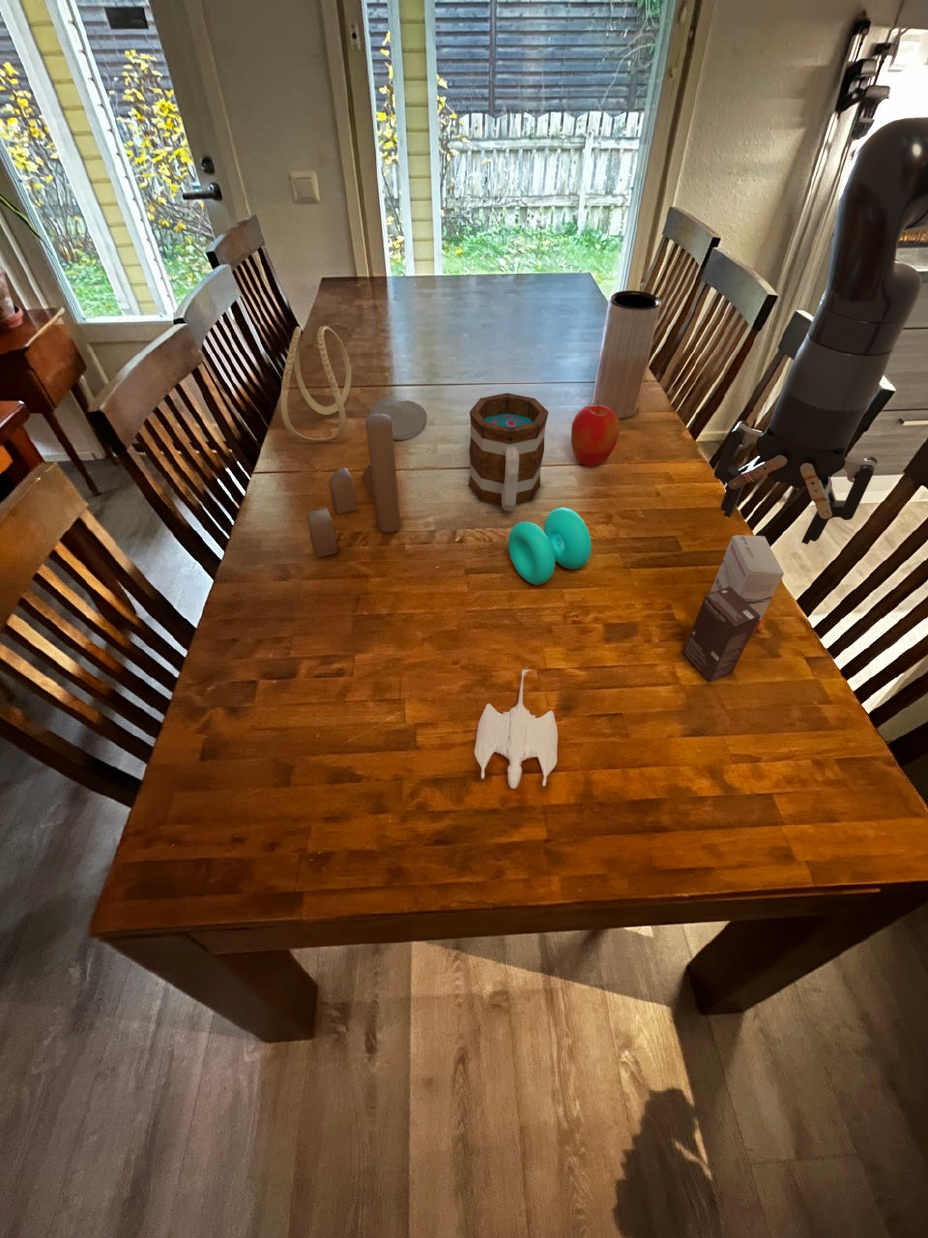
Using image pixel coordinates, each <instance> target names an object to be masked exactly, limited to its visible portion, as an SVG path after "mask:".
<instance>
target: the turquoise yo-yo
mask: <svg viewBox="0 0 928 1238" xmlns="http://www.w3.org/2000/svg"><path fill="white" fill-rule="evenodd" d="M507 546H508V552H509V556H510V559H511V562H512V565H513V567H514V568H515V570H516V571H517V573H518V574H519V575H520V576H521V578H522V579H523V580H525V581H526V582H527V583H529V584H533V585H542V584H545V583H546V582H548V581H549V580H550V579H551V577H552V576H553V574H554V571H555V567H556V563H557V564H558V565H560V566H561V567H563V568H566V569H569V570H578V569H580V568H582V567H583V566H585V565H586V564H587V563H588V561H589V559H590V556H591V554H592V538H591V534H590V531H589V529H588V527H587V525H586V523H585V521H584V520H583V518H582V517H581V516H580V515H579V514H578V513H577V512H575V511H574V510H572V508H568V507H557V508H554V509H553V510H552V511H550V512H549V514H548V515H547V516H546V519H545V521H544V525H543V529H542V528H541V527H540V526H539V525H537V524H536V523H534V522H531V521H520V522H518V523H516V524H514V526H512V528H511V530H510V531H509V534H508V540H507Z"/></svg>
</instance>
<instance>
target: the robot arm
mask: <svg viewBox="0 0 928 1238" xmlns="http://www.w3.org/2000/svg"><path fill="white" fill-rule="evenodd" d="M836 205H837V206H836V214H835V220H834V221H835V222H834V229H833V238H832V246H831V251H830V257H829V267H828V276H827V279H826V280H827V281H826V286H825V289H824V291H823V293H822V296H821V298H820V301H819V303H818V304H817V308H816V311H815V313H814V316H813V317H812V320H811V323H810V326H809V329H808V331H807V333H806V335H805V337H804V340H803V341H802V343H801V344H800V346H799V348H798V350H797V352H796V354H795V356H794V359H793V361H792V364H791V366H790V369H789V372H788V374H787V377H786V379H785V381H784V384H783V387H782V389H781V392H780V395H779V397H778V400H777V402H776V406H775V407H774V410H773V412H772V415H771V417H770V420H769V422H768V426H766V427H767V428H765V429H764V430H763V431H760V430H757V429H754V428H751V427H750V425H749V423H748V421H746V420H740V421H739V422H737V424H736V425H735V427H734V428H733V429H732V431H731V432H730V434H729V437H728V439H727V441H726V443H725V446H724V448H723V451H722V453H721V456H720V458H719V460H718V463H717V464H716V468H715V470H714V472H713V476H714V478H715V479H717V480H723V482H725V483H726V485H727V488H726V491H725V493H724V496H723V500H722V501H721V504H720V510H721V511H724V513H723V517H726V518H730V519H731V516H732V515H733V514H734V511H735V510H736V508H737V505H738V502H739V500H740V497H741V494H742V492H743V490H744V487H745V485H748V484H749V483H754V482H756V481H757V480H759V479H761V478H763V477H765V476H767V477H769V480H770V481H773V482H775V483H783V484H787V485H788V486H790V487H792V488H794V489H798V490H801V489H802V488H806V489H807V491H808V493H809V496H810V499H811V501H812V502H813V503H814V505H815V507H816V511H815V513H814V515H813V517H812V519H811V521H810V523H809V526H808V527H807V529H806V531H805V533H804V535H803V537H802V540H801V544H804V545H809V543H810V542H811V541H812V542H814V543H815V542H817V541H818V540H819V539H820V537H821V535H822V534H823V531H824V530H825V528H826V526H827V524H828V522H829V521H830V520H831V519H833V518H840V519H842V520H843V521H850V520H852V519H853V518H854V516H855V514H856V512H857V509H858V508H859V505H860V503H861V501H862V499H863V496H864V495H865V493H866V490H867V488H868V486H869V484H870V482H871V481H872V478H873V476H874V473H875V470H876V467H877V466H878V465H877V464H878V459H877V458H875V457H874V456H868V457H866V458H864V459H861V458H856V457H852V456H848V447H849V445H850V443H851V441H852V439H853V438H854V435H855V433H856V431H857V430H858V427H859V425H860V423H861V421H862V419H863V417H864V415H865V413H866V411H867V409H868V406H869V405H870V403H871V401H872V400H873V397H874V395H875V394H876V393H877V391H878V388H879V386H880V383H881V381H882V379H883V377H884V374H885V372H886V370H887V367H888V363H889V360H890V358H891V356H892V353H893V350H894V348H895V346H896V345H897V342H898V340H899V338H900V336H901V334H902V332H903V330H904V328H905V326H906V323H907V322H908V320H909V318H910V316H911V314H912V312H913V310H914V308H915V306H916V304H917V301H918V299H919V296H920V294H921V291H922V285H923V280H922V277H921V274H920V272H918V271H917V270H916V269H915V268H914V267H912V266H910V265H909V264H906V263H902V262H901V261H898V260H896V259H897V250H898V245H899V241H900V238H901V236H902V235H903V233H909V232H910V233H911V232H927V231H928V116H922V117H920V116H919V117H917V116H915V117H904V118H899V119H895V120H892V121H889V122H887V123H886V124H884V125H882V126H880V127H879V128H878V129H877V130H875V132H873V133H872V134H871V135H870V136H869V137H868V138H867V139H866V141H865V142H864V143H863V144H862V145H861V146H860V148H859V149H858V151H857V152H856V154H855V155H854V157H853V158H852V159H851V162H850V164H849V166H848V168H847V169H846V172H845V175H844V177H843V179H842V183H841V186H840V189H839V193H838V199H837V203H836ZM751 444H755V448H756V451H757V453H758V456H756V457H755V458H754V459H753V460H752V461H750V462H749V463H747V464H746V465H744V466H742V467H740V468H736V466H734V465H733V464H734V461H735V460H736V458H737V456H738V453H739V451H740V450H745V449H747V448H748V447H749V445H751ZM842 470H845V471H846V473H847V474H846V479H847V480H848V482H850V483H852V485H851V487H850V489H849V492H848V494H847V496H846V498H845V499H837V498H836V495H835V492H834V490H833V481H832V478H831V476H833V475H835V474H837V473H839V472H840V471H842Z"/></svg>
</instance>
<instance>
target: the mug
mask: <svg viewBox="0 0 928 1238" xmlns="http://www.w3.org/2000/svg"><path fill="white" fill-rule="evenodd" d="M473 405H474V406H472V408H471V409H470V410H469V419H470V427H471V428H470V440H469V447H468V448H469V449H468V453H469V463H470V464H469V465H470V466H469V467H470V468H469V469H470V470H469V479H468V487H469V489H470V490H471V492H472V493H473V494H474V495H475V497H476V498H477V500H478V501H479V502H483V503H487V504H490V505H494V506H499V507H501V508H502V509H503V510H504V511H508V512H509V511H510V512H511V511H513V510H515V509H516V506H518V505H522V504H527V503H530V502H532V501H533V500H534V498H535V496H536V495H537V493H538V491H539V490H540V488H541V470H542V462H543V458H544V453H545V433H546V424H547V420H548V416H549V410H547V409H546V407H544V406H543V405H542V404H541V403H540V401H538V400H537V399H536V398H535V397H531V396H525V395H520V394H515V393H509V392H505V393H500V394H499V393H498V394H493V395H489V396H484V397H480V398H479V399H478V400H477V402H476V403H475V404H473Z"/></svg>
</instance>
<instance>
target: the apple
mask: <svg viewBox="0 0 928 1238" xmlns="http://www.w3.org/2000/svg"><path fill="white" fill-rule="evenodd" d="M619 419H620V418H618V417H617V415H616V414H615V413H614V412H613V411H612V410H611V409H610V408H608V407H607V406H602V405H592V404H589V405H586V406H584V407H583V408H581V409H580V410H578V412H577V413H576V414H575V416H574V418H573V421H572V423H571V436H570V443H571V448H572V452H573V456H574V457H575V459H576V460H577V461H578V462H579V463H580V464H581V465H583V466H587V467H592V466H596V465H598V464H601V463H603V462H606V461H607V460H608V459H609V457H610V455H611V454H612V452H613V450H614V449H615V447H616V445H617V442H618V439H619V436H620V434H621V433H620V432H621V427H620V420H619Z"/></svg>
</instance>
